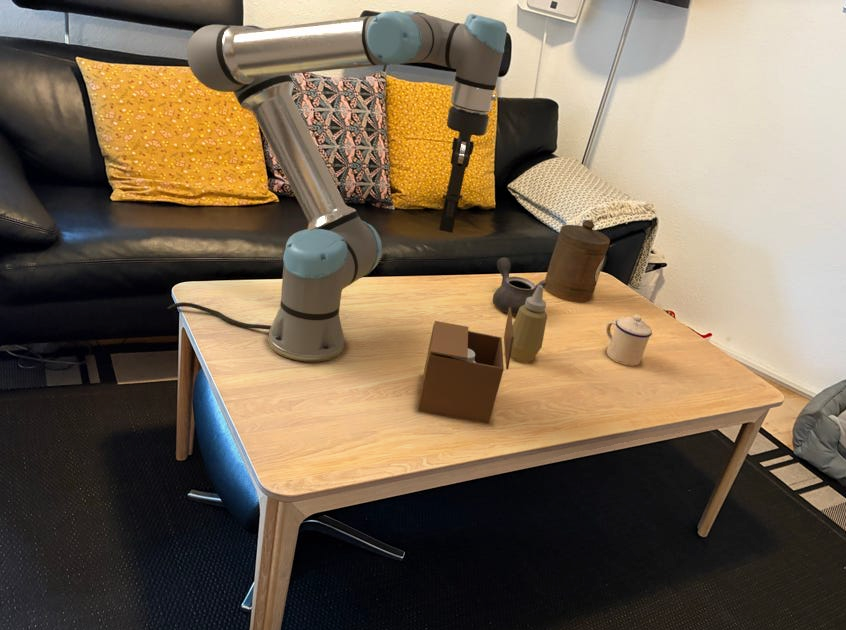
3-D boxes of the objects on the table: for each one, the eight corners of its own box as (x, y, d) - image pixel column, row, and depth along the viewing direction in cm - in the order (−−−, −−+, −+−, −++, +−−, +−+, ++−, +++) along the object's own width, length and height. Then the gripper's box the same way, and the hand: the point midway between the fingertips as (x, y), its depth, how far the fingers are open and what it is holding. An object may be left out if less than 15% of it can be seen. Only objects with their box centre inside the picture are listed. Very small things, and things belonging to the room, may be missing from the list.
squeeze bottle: (535, 368, 154) (556, 297, 145) (501, 359, 154) (520, 287, 146) (539, 353, 161) (559, 285, 152) (506, 344, 161) (525, 275, 153)
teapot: (553, 316, 182) (564, 282, 177) (509, 321, 173) (518, 285, 168) (512, 286, 194) (521, 254, 190) (469, 289, 185) (477, 255, 181)
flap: (430, 353, 122) (430, 351, 122) (434, 322, 134) (434, 320, 133) (467, 359, 123) (467, 357, 123) (468, 328, 134) (468, 326, 134)
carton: (417, 411, 128) (436, 321, 119) (422, 376, 140) (439, 293, 131) (493, 424, 130) (517, 337, 121) (492, 389, 141) (513, 307, 132)
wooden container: (600, 303, 198) (624, 232, 187) (557, 301, 191) (578, 228, 181) (577, 281, 209) (598, 214, 199) (535, 279, 203) (554, 209, 193)
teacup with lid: (647, 363, 169) (663, 322, 163) (625, 369, 163) (640, 327, 158) (612, 340, 176) (626, 300, 171) (589, 345, 171) (603, 304, 165)
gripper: (490, 119, 119) (463, 244, 130) (489, 108, 130) (464, 224, 142) (448, 110, 118) (425, 236, 129) (451, 99, 130) (429, 216, 141)
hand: (445, 230), depth 135 cm, fingers closed
